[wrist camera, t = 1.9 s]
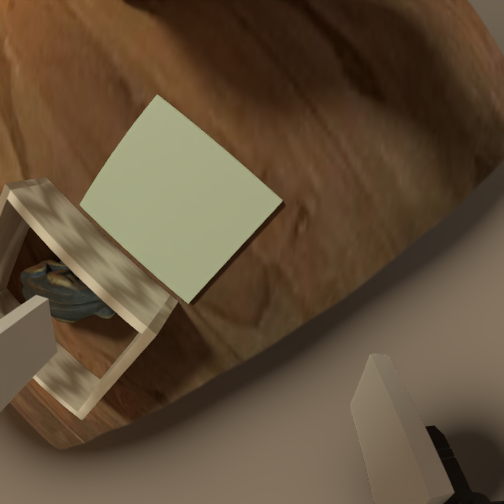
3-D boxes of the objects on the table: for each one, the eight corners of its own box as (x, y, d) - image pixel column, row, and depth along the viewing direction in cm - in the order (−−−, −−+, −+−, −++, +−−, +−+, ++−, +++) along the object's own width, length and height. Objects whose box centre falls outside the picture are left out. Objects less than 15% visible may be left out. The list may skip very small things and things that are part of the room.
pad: (82, 204, 34) (79, 204, 34) (159, 95, 30) (157, 94, 30) (189, 301, 37) (188, 303, 36) (282, 200, 33) (282, 200, 32)
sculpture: (123, 266, 36) (95, 285, 29) (125, 314, 37) (101, 340, 31) (43, 255, 36) (11, 269, 30) (48, 298, 38) (19, 317, 31)
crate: (0, 287, 39) (-31, 306, 31) (46, 177, 34) (5, 183, 26) (103, 388, 42) (81, 420, 34) (178, 301, 37) (157, 334, 29)
